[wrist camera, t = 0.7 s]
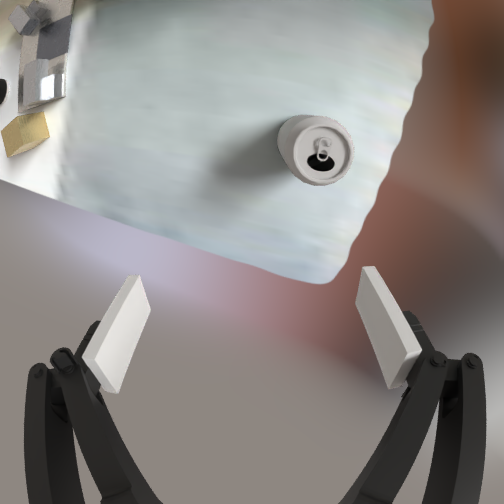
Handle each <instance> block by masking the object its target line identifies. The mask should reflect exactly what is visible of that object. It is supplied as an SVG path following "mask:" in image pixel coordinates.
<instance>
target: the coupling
mask: <svg viewBox="0 0 504 504" xmlns="http://www.w3.org/2000/svg"><path fill="white" fill-rule="evenodd" d="M1 134H2V138H3V142H4V146H5V150H6V154H7V157H11V156H14V155H16V154H19V153H22V152H24V151H27V150H30V149H33V148H34V147H36V146H37V145H39V144H40V143H42V142H43V141H44V140H46V139H47V138H49V137H50V135H49V131H48V127H47V123H46V119H45V115H44V112H38V113H32V114H27V115H22V116H17V117H16V118H15V119H14V120H12V121H11V122H10V123H9V124H8V125H7V126H6V127H5V128H4V129H3V130H2V131H1Z"/></svg>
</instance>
